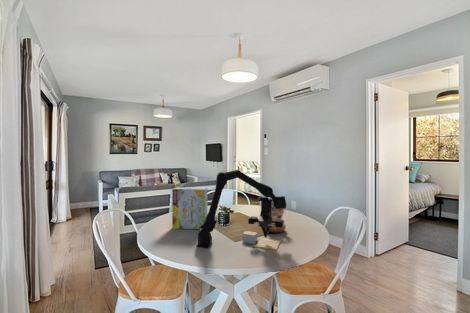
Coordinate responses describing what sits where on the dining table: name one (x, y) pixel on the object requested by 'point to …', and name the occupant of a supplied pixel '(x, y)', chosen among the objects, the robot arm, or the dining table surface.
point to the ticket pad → (267, 243)
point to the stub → (250, 237)
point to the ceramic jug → (276, 215)
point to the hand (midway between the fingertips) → (265, 237)
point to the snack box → (188, 207)
